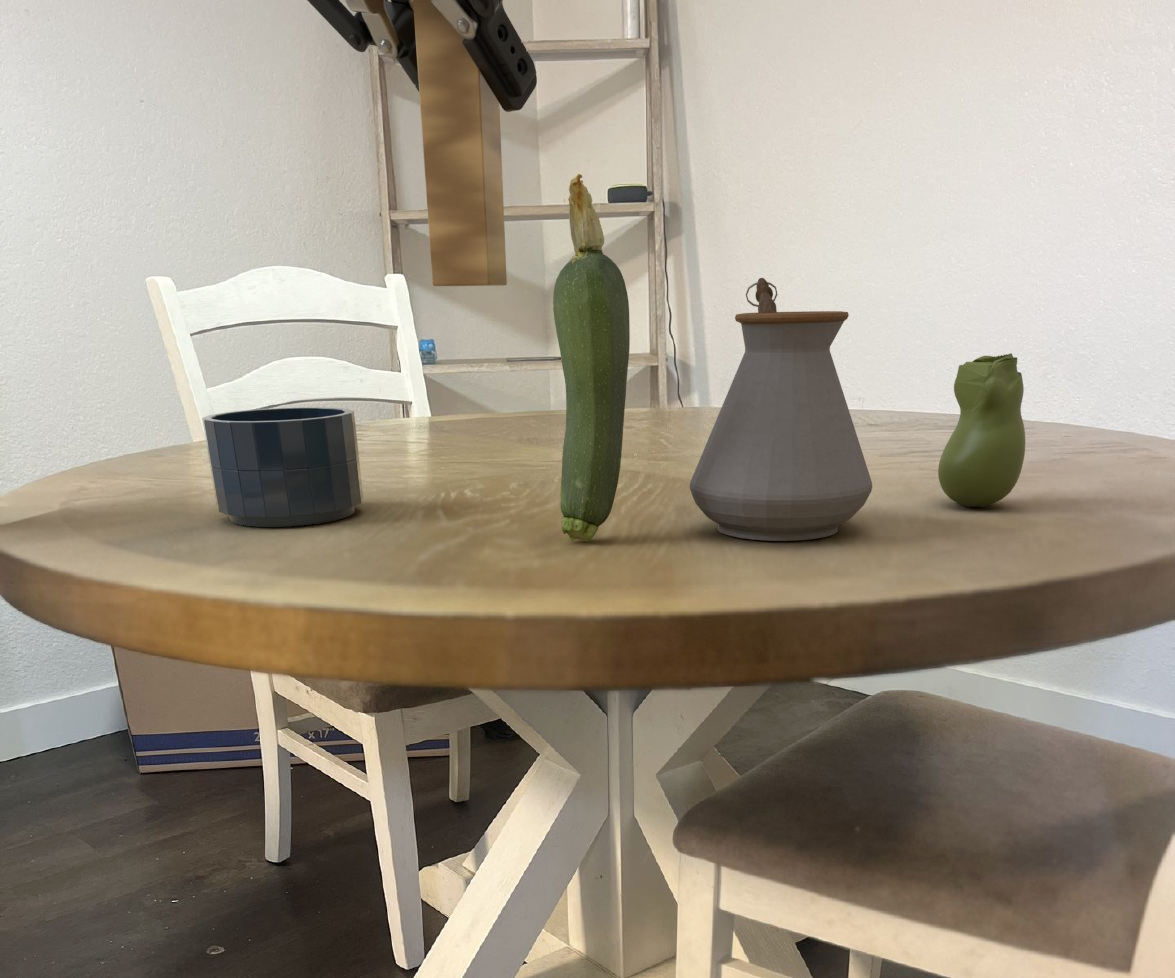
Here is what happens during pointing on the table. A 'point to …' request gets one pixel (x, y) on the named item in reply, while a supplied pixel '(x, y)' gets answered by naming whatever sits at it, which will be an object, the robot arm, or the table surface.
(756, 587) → the table surface
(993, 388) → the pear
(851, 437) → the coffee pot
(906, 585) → the table surface
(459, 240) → the long rectangular wooden block
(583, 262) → the vegetable
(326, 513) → the bowl
